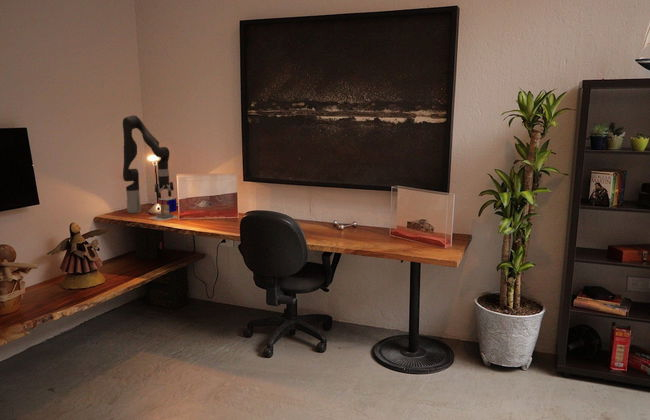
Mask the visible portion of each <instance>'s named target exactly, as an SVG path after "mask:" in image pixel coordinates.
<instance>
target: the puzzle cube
mask: <svg viewBox="0 0 650 420" xmlns="http://www.w3.org/2000/svg"><path fill="white" fill-rule="evenodd" d="M158 203H159V204H161V205H165V204H166V205H169V212H170V213H172V212H176V211H178V206H177V198H174V197H163V198H162V197H161V198H158V199H157V204H158Z"/></svg>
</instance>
